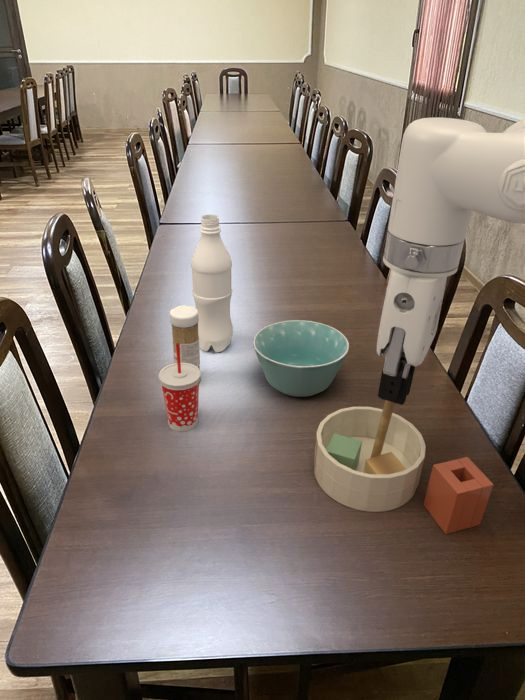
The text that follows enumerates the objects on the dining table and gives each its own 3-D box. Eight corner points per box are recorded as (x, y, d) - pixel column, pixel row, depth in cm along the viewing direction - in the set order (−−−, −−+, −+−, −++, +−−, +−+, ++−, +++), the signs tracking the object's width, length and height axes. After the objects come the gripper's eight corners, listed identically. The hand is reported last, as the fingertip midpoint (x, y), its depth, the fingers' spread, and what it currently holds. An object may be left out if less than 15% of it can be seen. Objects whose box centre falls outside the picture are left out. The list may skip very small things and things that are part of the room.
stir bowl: (385, 430, 82) (390, 399, 79) (438, 498, 71) (447, 464, 67) (298, 449, 78) (301, 416, 75) (340, 523, 67) (345, 488, 64)
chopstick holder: (455, 496, 71) (467, 456, 67) (480, 525, 67) (493, 484, 63) (423, 504, 70) (433, 464, 66) (445, 534, 66) (457, 493, 62)
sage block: (358, 462, 75) (362, 440, 73) (351, 481, 72) (355, 459, 70) (331, 454, 76) (333, 432, 74) (322, 473, 73) (325, 451, 71)
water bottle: (194, 337, 105) (187, 211, 92) (230, 335, 106) (228, 210, 93) (196, 357, 99) (189, 225, 86) (235, 354, 100) (234, 223, 87)
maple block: (387, 472, 73) (391, 451, 71) (404, 493, 70) (409, 471, 68) (362, 481, 72) (365, 459, 69) (378, 502, 68) (382, 480, 66)
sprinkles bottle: (173, 374, 94) (168, 305, 87) (199, 371, 95) (196, 303, 88) (176, 389, 90) (171, 318, 83) (203, 385, 91) (200, 315, 84)
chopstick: (376, 459, 72) (405, 352, 62) (379, 466, 71) (409, 358, 61) (367, 460, 72) (395, 353, 61) (371, 467, 71) (399, 359, 61)
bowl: (235, 374, 95) (235, 333, 90) (306, 349, 102) (309, 311, 98) (287, 422, 83) (290, 378, 79) (363, 390, 91) (369, 349, 87)
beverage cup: (160, 413, 85) (152, 336, 77) (198, 406, 86) (194, 330, 79) (166, 438, 80) (159, 358, 72) (207, 430, 81) (203, 351, 74)
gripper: (445, 286, 47) (408, 444, 57) (472, 235, 59) (438, 373, 69) (363, 268, 50) (341, 422, 60) (404, 223, 62) (381, 357, 72)
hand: (393, 395), depth 64 cm, fingers closed on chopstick, 1 cm apart
